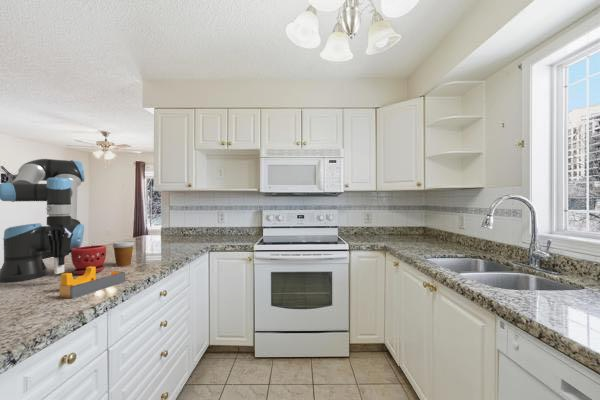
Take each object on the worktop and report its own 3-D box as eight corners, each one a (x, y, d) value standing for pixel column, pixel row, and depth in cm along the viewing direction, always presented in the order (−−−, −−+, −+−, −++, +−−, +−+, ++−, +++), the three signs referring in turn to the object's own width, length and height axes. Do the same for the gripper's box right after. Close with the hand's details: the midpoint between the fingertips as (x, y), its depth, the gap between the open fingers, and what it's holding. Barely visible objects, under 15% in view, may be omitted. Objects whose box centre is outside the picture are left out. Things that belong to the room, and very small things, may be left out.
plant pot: (113, 269, 132) (112, 244, 132) (84, 276, 120) (84, 250, 120) (93, 267, 136) (93, 243, 136) (64, 274, 124) (63, 248, 124)
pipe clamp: (86, 281, 114) (86, 266, 114) (95, 282, 114) (95, 266, 113) (57, 291, 102) (57, 274, 102) (66, 291, 102) (66, 274, 102)
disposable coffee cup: (107, 267, 138) (107, 243, 137) (123, 262, 147) (122, 240, 147) (124, 267, 136) (124, 244, 136) (138, 263, 145) (138, 241, 145)
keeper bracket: (59, 296, 96) (59, 285, 96) (113, 280, 115) (113, 270, 115) (72, 298, 94) (72, 287, 94) (125, 281, 113) (125, 272, 113)
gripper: (37, 215, 109) (37, 274, 109) (59, 216, 105) (59, 276, 105) (58, 214, 116) (59, 269, 116) (80, 215, 112) (80, 271, 112)
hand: (59, 272), depth 111 cm, fingers closed
